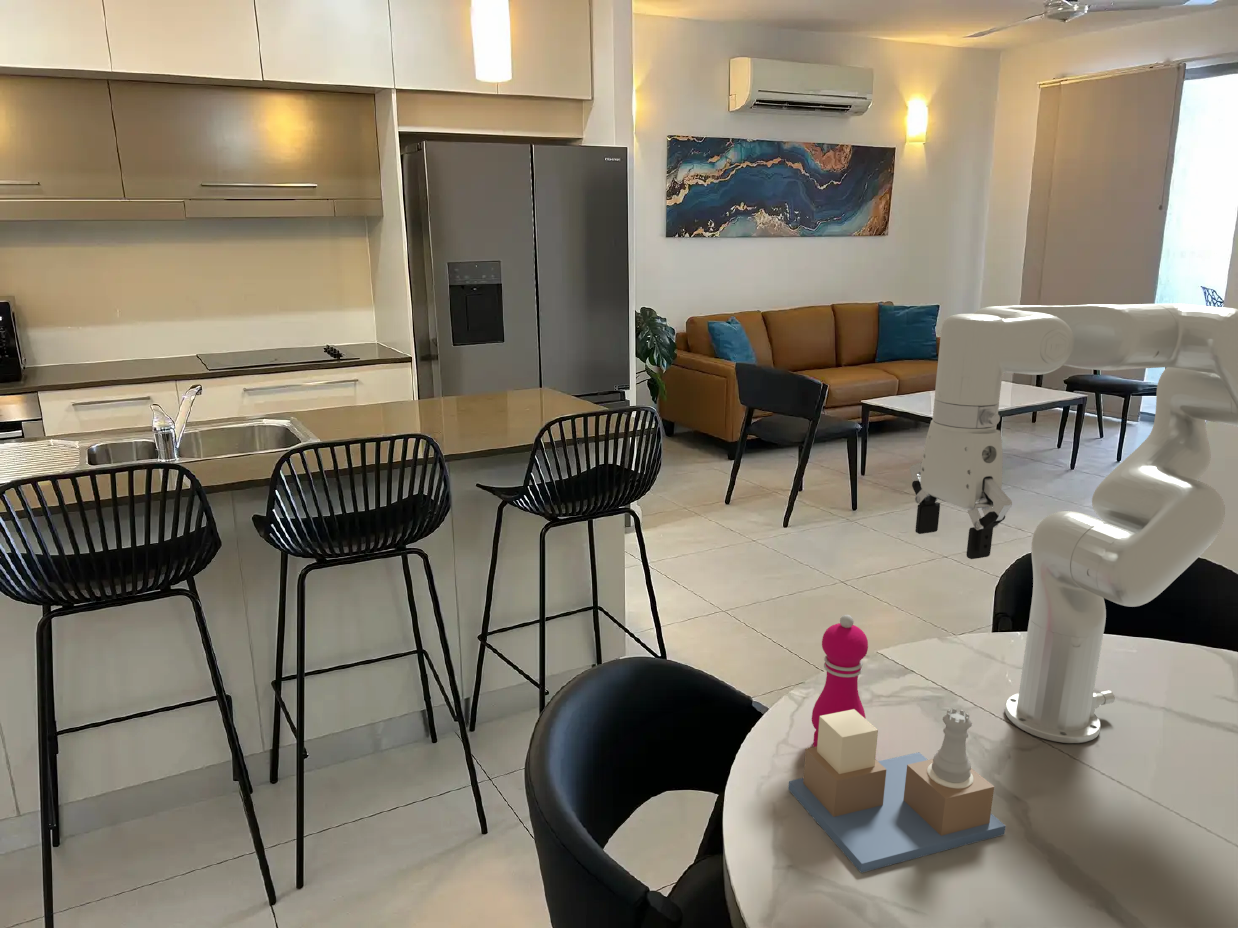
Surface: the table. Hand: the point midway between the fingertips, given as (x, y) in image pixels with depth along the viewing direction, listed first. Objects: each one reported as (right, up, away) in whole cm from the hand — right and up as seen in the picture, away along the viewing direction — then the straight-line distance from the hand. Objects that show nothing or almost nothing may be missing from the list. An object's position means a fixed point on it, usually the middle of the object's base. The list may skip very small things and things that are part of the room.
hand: (951, 544), depth 114 cm
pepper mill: (-13, -29, +8) cm, 33 cm away
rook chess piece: (-3, -27, -8) cm, 28 cm away
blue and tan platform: (-9, -32, -5) cm, 34 cm away
